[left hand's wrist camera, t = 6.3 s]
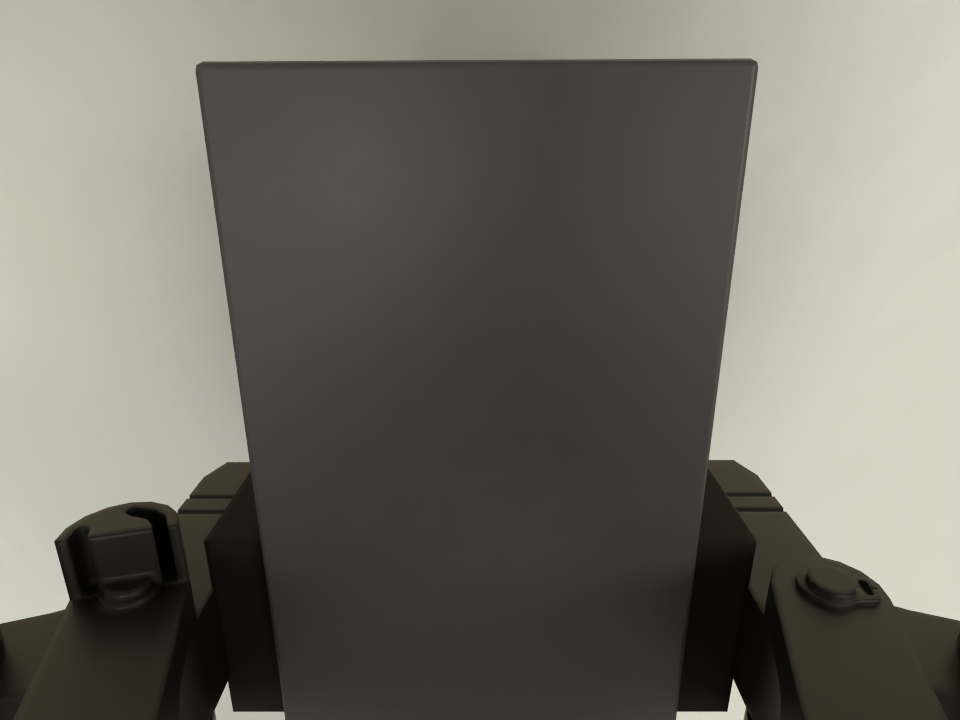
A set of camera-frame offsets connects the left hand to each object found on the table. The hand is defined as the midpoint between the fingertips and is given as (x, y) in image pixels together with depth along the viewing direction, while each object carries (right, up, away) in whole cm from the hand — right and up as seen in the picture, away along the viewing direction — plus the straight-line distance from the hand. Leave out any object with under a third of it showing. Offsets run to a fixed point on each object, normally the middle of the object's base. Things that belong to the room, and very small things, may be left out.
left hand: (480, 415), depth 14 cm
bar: (0, -31, +11) cm, 33 cm away
